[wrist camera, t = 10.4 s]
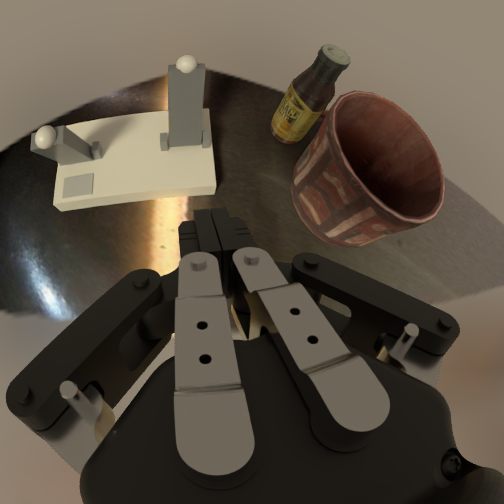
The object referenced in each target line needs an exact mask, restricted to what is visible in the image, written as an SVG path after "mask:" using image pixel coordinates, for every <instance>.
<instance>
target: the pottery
mask: <svg viewBox="0 0 504 504" xmlns="http://www.w3.org/2000/svg"><path fill="white" fill-rule="evenodd" d="M291 193H292V199H293V204H294V207H295V209H296V211H297V213H298V215H299V218H300V220H301V221H302V222H303V223H304V225H305V226H306V227H307V228H308V229H309V231H310V232H311V233H312V234H314V235H315V236H317V237H318V238H319V239H321V240H322V241H324V242H325V243H328V244H331V245H334V246H337V247H359V246H362V245H365V244H368V243H371V242H374V241H376V240H378V239H381V238H383V237H385V236H387V235H390V234H393V233H396V232H400V231H404V230H408V229H412V228H415V227H417V226H419V225H422V224H424V223H426V222H428V221H430V220H432V219H434V218H435V217H436V215H437V214H438V212H439V211H440V209H441V208H442V206H443V201H444V195H445V183H444V176H443V170H442V167H441V164H440V161H439V158H438V156H437V153H436V151H435V149H434V147H433V146H432V144H431V142H430V140H429V139H428V137H427V135H426V134H425V133H424V131H423V130H422V129H421V128H420V127H419V125H418V124H417V123H416V122H415V121H414V119H413V118H412V117H411V116H410V115H408V114H407V113H406V112H405V111H404V110H402V109H401V108H400V107H399V106H397V105H396V104H395V103H393V102H391V101H389V100H387V99H385V98H383V97H381V96H379V95H376V94H374V93H369V92H362V91H352V92H349V93H347V94H344V95H341V96H340V97H339V98H338V99H337V100H336V102H335V103H334V104H333V106H332V107H331V108H330V110H329V111H328V113H327V115H326V117H325V119H324V121H323V123H322V125H321V127H320V129H319V131H318V133H317V134H316V136H315V137H314V139H313V140H312V142H311V143H310V144H309V146H308V147H307V148H306V150H305V151H304V153H303V154H302V156H301V157H300V159H299V160H298V162H297V163H296V165H295V166H294V170H293V176H292V183H291Z"/></svg>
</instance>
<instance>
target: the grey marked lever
mask: <svg viewBox="0 0 504 504" xmlns="http://www.w3.org/2000/svg"><path fill="white" fill-rule="evenodd" d="M91 149H92V146H91V145H89V144H88V143H87V142H85V141H84V140H83V139H81V138H80V137H79V136H77V135H76V134H75V133H73V132H72V131H71V130H69V129H68V128H67V127H65V126H64V125H63V126H59V127H55V128H53V127H51V126H43V127H41V128H40V129H39V130H38V131H37V132H36V133H33V134H32V138H31V151H33V152H35V153H38V154H40V155H43V156H45V157H48V158H50V159H53V160H55V161H58V162H60V163H63V164H65V165H71V164H76V163H82V162H87V161H93V154H92V152H91Z"/></svg>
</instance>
